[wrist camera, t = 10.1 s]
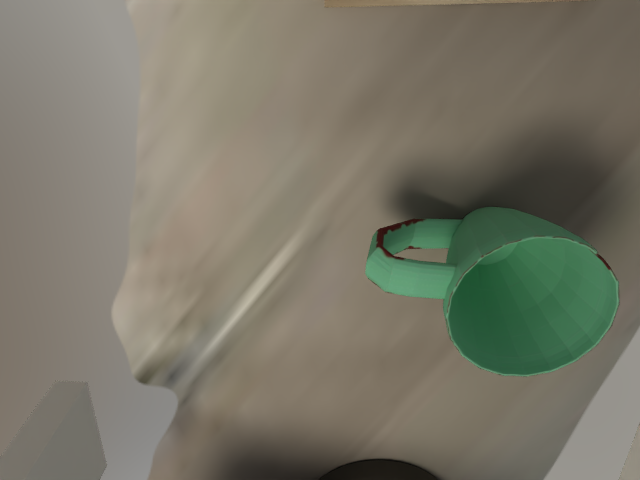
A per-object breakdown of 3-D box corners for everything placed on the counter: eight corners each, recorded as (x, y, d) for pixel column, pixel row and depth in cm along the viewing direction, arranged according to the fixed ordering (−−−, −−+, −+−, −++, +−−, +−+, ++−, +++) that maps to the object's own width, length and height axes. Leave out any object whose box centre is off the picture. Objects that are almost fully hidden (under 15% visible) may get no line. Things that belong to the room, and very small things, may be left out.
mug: (575, 188, 37) (652, 254, 28) (524, 301, 41) (577, 389, 32) (375, 148, 36) (388, 203, 27) (346, 268, 40) (348, 349, 31)
